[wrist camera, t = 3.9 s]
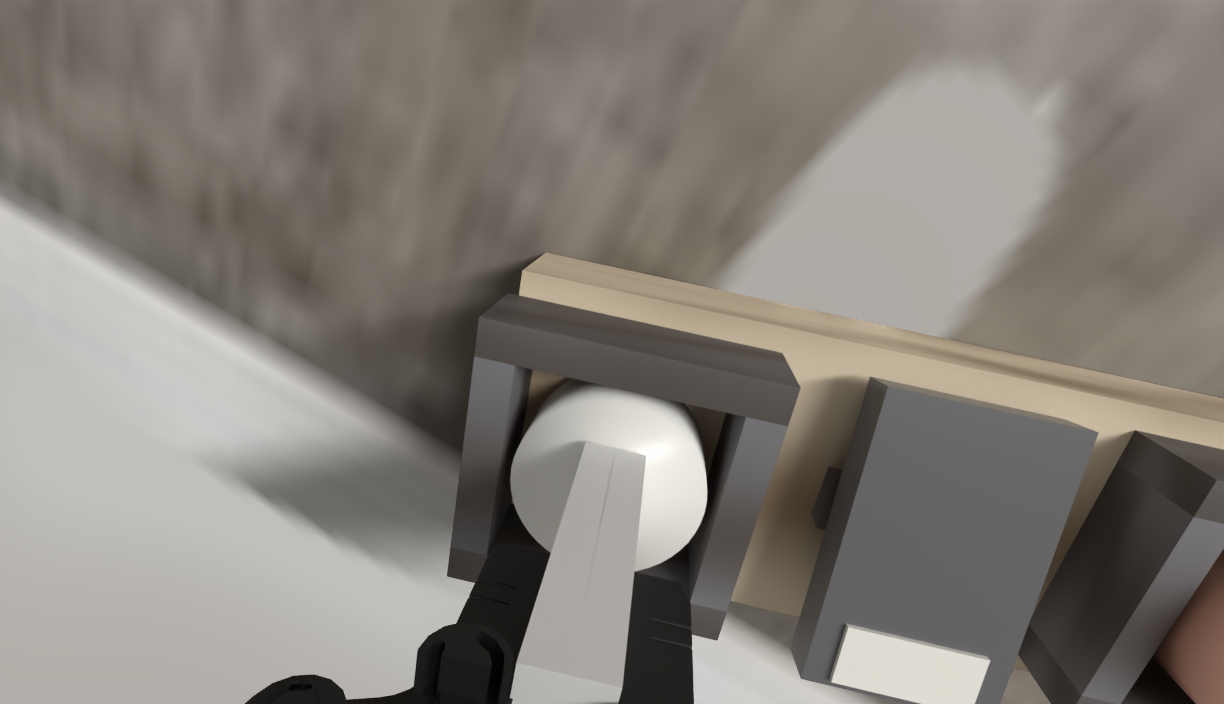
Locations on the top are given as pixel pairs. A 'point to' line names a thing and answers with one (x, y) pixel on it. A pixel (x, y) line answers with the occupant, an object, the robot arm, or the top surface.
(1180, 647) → the button terracotta
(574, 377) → the panel
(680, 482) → the button white
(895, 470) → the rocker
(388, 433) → the top surface
